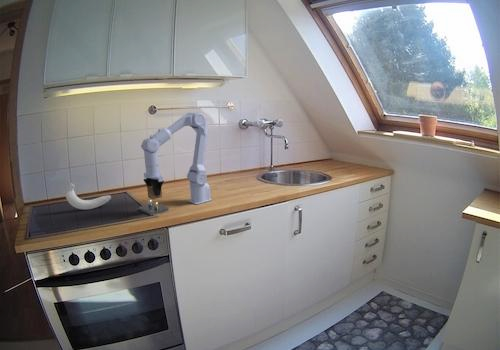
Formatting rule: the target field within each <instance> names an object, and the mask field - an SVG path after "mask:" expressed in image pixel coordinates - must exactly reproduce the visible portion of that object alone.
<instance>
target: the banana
mask: <svg viewBox="0 0 500 350" xmlns="http://www.w3.org/2000/svg"><path fill="white" fill-rule="evenodd" d="M69 186H70V188H69V190H68V191H67V192H66V194H65V198H66V200H67V202H68V203H69V205H70V206H71V207H74V208H76V209H78V210H87V211H88V210H93V209H96V208H99V207H100V206H102V205H105V204H106V203H108V202H109V201H110V200H111V199H112V196H111V195H103V196H99V197H97V198H94V199H86V200H85V199H81V198H80V197H79V196H78V195H77V194H76V192H75V190H74V189H75V186H76V185H75V184H73V183H72V182H70V185H69Z"/></svg>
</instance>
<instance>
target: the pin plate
mask: <svg viewBox="0 0 500 350" xmlns="http://www.w3.org/2000/svg"><path fill="white" fill-rule="evenodd" d="M138 210H139V211H141V212H142V213H145V214H147V215H149V216H154V215H153V214H155V215H158V214H161V212H162V213H164V212H168V211H169V210H170V208H168V207H167V206H164V205H163V204H159V201H154V202H153V199H151V198H149V199H147V204H146V205H142V206H138ZM157 213H158V214H157Z"/></svg>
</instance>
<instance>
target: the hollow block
mask: <svg viewBox="0 0 500 350" xmlns="http://www.w3.org/2000/svg"><path fill="white" fill-rule="evenodd" d="M146 190H147V197H148V198H149V199H152V200H156V199H160V198H163V190H162V189H161V192H160V195H158V196H155V193H154V189H153V186H149V187H147V186H146Z"/></svg>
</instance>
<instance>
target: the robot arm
mask: <svg viewBox="0 0 500 350" xmlns="http://www.w3.org/2000/svg"><path fill="white" fill-rule="evenodd" d="M184 127H190V128H192V129H193V131H195V133H196V136H195V144H194V151H193V159H192V164H191V166H190V167H189V170H188V172H187V174H186V178H187V181H188V182H189V191H190V199H188V200H187V202H189V203H191V204H193V205H200V204H203V203H206V202H209V201H212V198H211V197H212V196H211V188H210V185H209V183H208V182H207V178H208V176H207V169H206V168H205V166H204V165H205V159H206V158H205V157H206V149H207V143H208V137H209V136H208V135H209V128H208V124H207V117H206V116H205V115H204V114H203V113H201V112H191V111H190V112H187V113H186V114H183V115H182V116H181V117H180V118H179V119H178V120H176V121H175V122H174V123H172V124H171V125H170V126H168V127H167V128H159V129H157V132H155V133H154V134H153V135H149V138H145V139H143V140H142V142H141V145H140V147H141V149H142V150H143V154H144V155H143V156H144V164H145V165H144V166H145V172H143V178H144V179H143V182H144V183H145V185H146V188H147V187H149V186H153V189H154V193H155V196H158V195H160V192H161V190H162V187H163V185H164V176H162V175H161V174H160V166H159V155H158V150H159V148H160V147H161V146H162V145H164V144H165V143H166V142H168V141H169V140H171V139H172V138H171V137H172V135H173V134H175V133H176V132H178V131H180V130H181V129H183V128H184Z"/></svg>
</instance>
